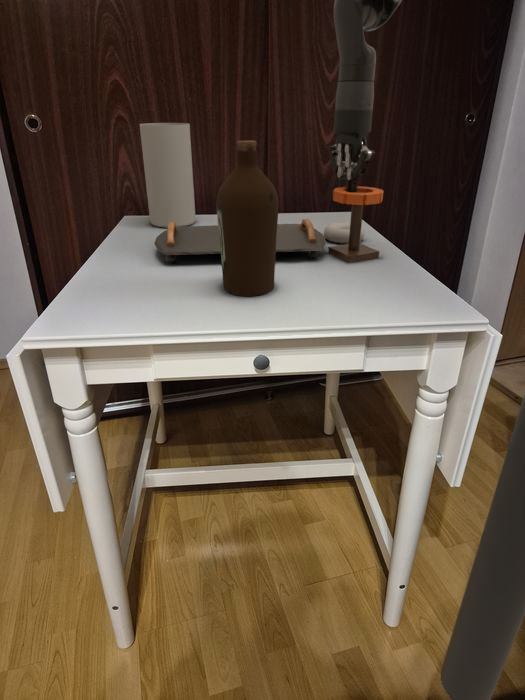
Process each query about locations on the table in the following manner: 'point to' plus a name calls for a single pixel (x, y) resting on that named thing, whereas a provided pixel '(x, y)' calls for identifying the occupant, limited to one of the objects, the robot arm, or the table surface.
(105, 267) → the table surface
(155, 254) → the table surface
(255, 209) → the olive oil
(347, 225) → the donut
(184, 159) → the cylinder vase
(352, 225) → the stand
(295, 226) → the serving tray
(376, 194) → the ring
